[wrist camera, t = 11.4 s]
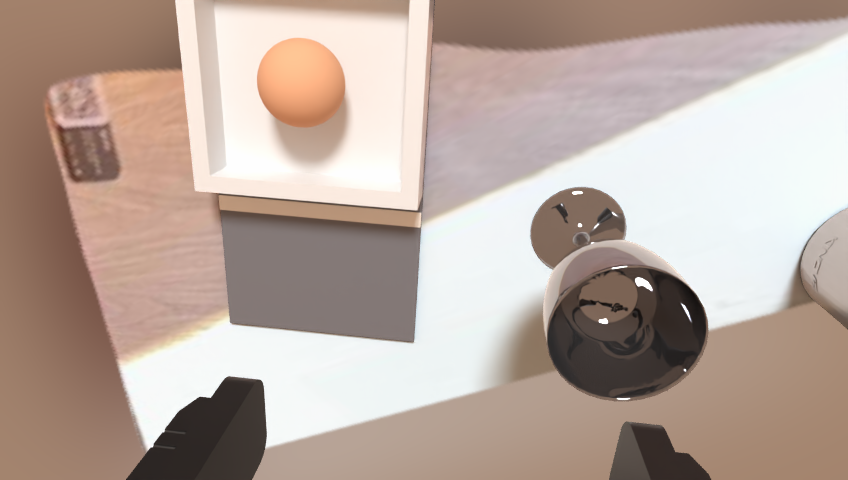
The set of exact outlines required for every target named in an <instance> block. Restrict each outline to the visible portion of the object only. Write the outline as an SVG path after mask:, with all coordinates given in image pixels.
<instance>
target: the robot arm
mask: <svg viewBox="0 0 848 480" xmlns="http://www.w3.org/2000/svg"><path fill="white" fill-rule="evenodd" d="M801 279H802V282H803V286H804V288H805V290H806V291H807V293H808V294H809V296H810V297H811V298H812V299H813V300H814V301H816V302H817V303H818V304H819V305H820V306H821V307H822V308H824V309H825V310H826V311H827V312H828V313H830V314H831V315H832V316H833V317H834V318H835V319H837V320H838V321H839V322H840V323H841V324H842V325H843V326H844V327H846V328H847V329H848V208H847V209H845V210H842V211H840V212H839V213H837V214H836V215H834V216H833V217H831V218H830V219H828V220H827V221H826V222H825V223H824V224H823V225H822V226H821V227H820V228H819V229H818V230H817V231H816V232H815V234H814V235H813V236H812V238H811V239H810V240H809V242H808V244H807V246H806V248H805V250H804V253H803V256H802V261H801ZM266 437H267V431H266V415H265V399H264V386H263V383H262V381H261V380H257V379H248V378H239V377H230V376H229V377H226V378H225V379H224V380H223V382H222V383H221V384H220V386H219V387H218V389H217V390H216V391H215V393H214V394H213V396H212V397H211V398H206V397H199V398H197V399H196V400H194V401H193V402H191V403H190V404H189V405H187V406H186V407H184V408H183V409H181V410H180V411H179V412H178V413H177V414H176V416H175V417H174V418H173V419H172V421H171V422H170V423H169V425H168V426H167V427H166V428H165V432H164V433H163V432H162V434H161V435H160V436H159V438H158V439H157V440H156V441H155V443H154V446H153V448H150V449H149V451H148V452H147V453H146V454H145V456H144V457H143V458H142V460H141V461H140V462H139V463H138V465H137V466H136V467H135V469H134V470H133V472H132V473H131V474H130V475H129V476H128V478H127V479H126V480H252V478H253V477H254V475H255V472H256V471H257V469H258V466H259V464H260V462H261V460H262V457H263V454H264V450H265V445H266ZM609 480H711V478H710V476H709V474H708V473H707V472H706V471H705V470H704V469H703V468H702V467H701V466H700V465H699V464H698V463H697V462H696V461H695V460H694V459H693V458H692V457H691V456H690V455H689V454H687V453H678V452H675V450H674V448H673V446H672V444H671V441H670V439H669V437H668V435H667V433H666V431H665V429H664V427H662V426H660V425H651V424H643V423H634V422H625V423H624V424H623V426H622V429H621V432H620V436H619V440H618V444H617V448H616V452H615V457H614V460H613V465H612V468H611V473H610V478H609Z"/></svg>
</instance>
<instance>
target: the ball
mask: <svg viewBox="0 0 848 480" xmlns="http://www.w3.org/2000/svg"><path fill="white" fill-rule="evenodd" d="M257 88H258V92H259V95H260V98H261V100H262V102H263V104H264V106H265V107H266V109H267V110H268V111H269V112H270V113H271V114H272V115H273V116H274V117H275V118H277V119H278V120H280V121H281V122H283V123H285V124H288V125H290V126H294V127H303V128H307V127H313V126H317V125H320V124H322V123H324V122H326V121H327V120H329V119H330V118H331V117H332V116H333V115H334V114H335V113H336V112H337V110H338V109H339V107H340V106H341V104H342V101H343V98H344V94H345V76H344V72H343V69H342V67H341V65H340V63H339V61H338V59H337V58H336V57H335V55H334V54H333V53H332V52H331V51H330V50H329V49H328V48H326V47H325V46H324V45H322V44H320V43H319V42H316V41H314V40H311V39H306V38H290V39H287V40H284V41H281V42H279V43H277V44H276V45H274V46H273V47H272V48H271V49H270V50H268V51H267V53H266V54H265V55H264V57H263V59H262V60H261V63H260V65H259V68H258V73H257Z"/></svg>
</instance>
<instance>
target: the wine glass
mask: <svg viewBox="0 0 848 480" xmlns="http://www.w3.org/2000/svg"><path fill="white" fill-rule="evenodd" d="M625 236H626V219H625V216H624V213H623V211H622V209H621V207H620V206H619V204H618V203H617V202H616V201H615V200H614V199H613V198H612V197H610V196H609V195H608V194H606V193H604V192H602V191H600V190H597V189H594V188H588V187H575V188H570V189H566V190H563V191H560V192H558V193H556V194H555V195H553V196H551V197H550V198H549V199H547V200H546V201H545V202H544V203H543V204H542V205H541V206H540V208H539V209H538V211H537V212H536V214H535V216H534V219H533V221H532V225H531V242H532V246H533V248H534V251H535V253H536V254H537V256H538V257H539V258H540V259H541V260H542V262H543V263H545V264H546V265H547V266H549V267H550V268H552V269H554V270H553V271H552V273H551V275H550V278H549V280H548V283H547V286H546V290H545V295H544V302H543V325H544V333H545V338H546V343H547V347H548V352H549V355H550V357H551V360H552V362H553V365H554V367H555V368H556V369H557V371H558V372H559V374H560V375H561V376H562V377H563V378H564V379H565V380H566V381H567V382H568V383H569V384H570V385H572V386H573V387H574V388H576V389H577V390H579V391H581V392H583V393H585V394H587V395H589V396H593V397H596V398H600V399H604V400H611V401H633V400H640V399H645V398H648V397H652V396H655V395H658V394H660V393H662V392H664V391H667V390H668V389H670V388H672V387H673V386H675V385H676V384H678V383H679V382H681V381H682V380H683V379H684V378H685V377H686V376H687V375H689V373H690V372H691V371H692V370H693V369H694V367H695V366H696V365H697V363H698V362H699V360H700V358H701V356H702V355H703V352H704V349H705V346H706V344H707V337H708V320H707V316H706V313H705V310H704V307H703V305H702V303H701V302H700V300H699V298H698V296H697V295H696V293H695V292H694V291H693V289H692V288H691V287H690V285H689V284H688V283H687V282H686V281H685V280H684V278H683V277H682V276H681V275H680V274H679V273H678V272H677V271H676V270H675V269H674V268H673V267H672V266H671V265H670V264H669V263H668V262H666V261H665V260H664V259H662V258H661V257H660V256H658V255H657V254H655V253H654V252H652V251H650V250H648V249H646V248H644V247H642V246H640V245H638V244H636V243H633V242H630V241H627V240H625Z"/></svg>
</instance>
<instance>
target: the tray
mask: <svg viewBox="0 0 848 480" xmlns="http://www.w3.org/2000/svg"><path fill="white" fill-rule="evenodd" d="M175 3H176V12H177V22H178V31H179V40H180V51H181V60H182V70H183V79H184V89H185V99H186V108H187V118H188V127H189V137H190V147H191V156H192V166H193V175H194V185H195V191H201V192H212V193H223V194H235V195H246V196H257V197H269V198H280V199H292V200H303V201H314V202H326V203H337V204H348V205H360V206H371V207H383V208H394V209H405V210H418V207H419V204H420V201H421V198H422V195H423V179H424V162H425V146H426V129H427V113H428V97H429V80H430V64H431V47H432V31H433V14H434V0H175ZM290 38H306V39H311V40H314V41H316V42H319V43H320V44H322V45H324V46H325V47H326V48H328V49H329V50H330V51H331V52H332V53H333V54H334V55H335V57H336V58H337V59H338V61H339V63H340V65H341V67H342V69H343V72H344V76H345V94H344V98H343V101H342V104H341V106H340V107H339V109H338V110H337V112H336V113H335V114H334V115H333V116H332V117H331V118H330V119H329V120H327V121H326V122H324V123H322V124H320V125H317V126H313V127H307V128H303V127H294V126H290V125H288V124H285V123H283V122H281V121H280V120H278V119H277V118H275V117H274V116H273V115H272V114H271V113H270V112H269V111H268V110H267V109H266V107H265V106H264V104H263V102H262V100H261V98H260V95H259V92H258V88H257V73H258V68H259V65H260V63H261V60H262V59H263V57H264V55H265V54H266V53H267V51H268V50H270V49H271V48H272V47H273V46H274V45H276V44H277V43H279V42H281V41H284V40H287V39H290Z"/></svg>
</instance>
